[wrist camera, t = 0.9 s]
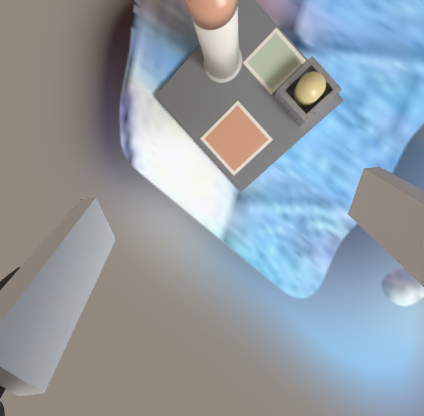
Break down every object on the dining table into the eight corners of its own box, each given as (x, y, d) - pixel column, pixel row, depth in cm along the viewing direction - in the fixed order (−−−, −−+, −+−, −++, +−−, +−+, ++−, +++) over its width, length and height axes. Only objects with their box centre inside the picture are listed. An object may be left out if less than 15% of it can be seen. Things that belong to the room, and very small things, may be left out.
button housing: (305, 66, 25) (312, 56, 22) (333, 97, 25) (341, 89, 22) (274, 97, 26) (276, 90, 23) (300, 126, 26) (305, 122, 23)
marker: (223, 34, 25) (210, -72, 15) (247, 60, 25) (250, -26, 15) (199, 62, 26) (168, -19, 15) (221, 87, 26) (207, 24, 15)
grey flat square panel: (246, -3, 25) (246, -9, 24) (340, 102, 25) (343, 99, 24) (157, 98, 28) (154, 96, 27) (241, 191, 28) (241, 191, 28)
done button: (307, 74, 24) (313, 65, 22) (324, 93, 24) (331, 85, 22) (288, 93, 24) (292, 86, 22) (304, 111, 24) (309, 105, 22)
